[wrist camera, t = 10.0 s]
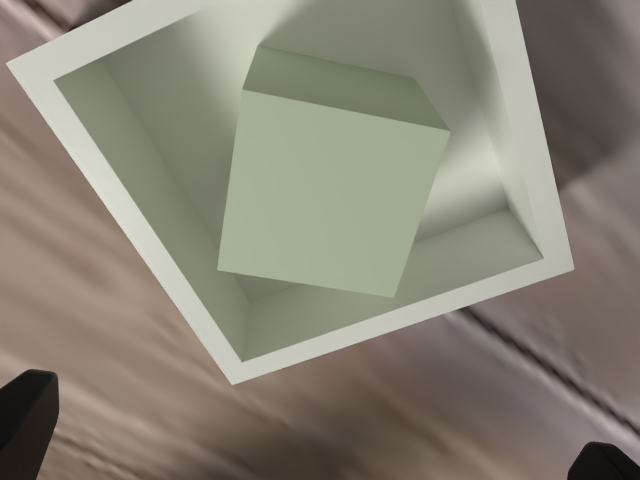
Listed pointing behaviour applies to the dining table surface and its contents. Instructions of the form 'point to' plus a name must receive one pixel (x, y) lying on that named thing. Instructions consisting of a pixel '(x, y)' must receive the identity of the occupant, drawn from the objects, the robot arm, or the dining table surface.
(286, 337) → the bin
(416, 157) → the green block
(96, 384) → the dining table surface
